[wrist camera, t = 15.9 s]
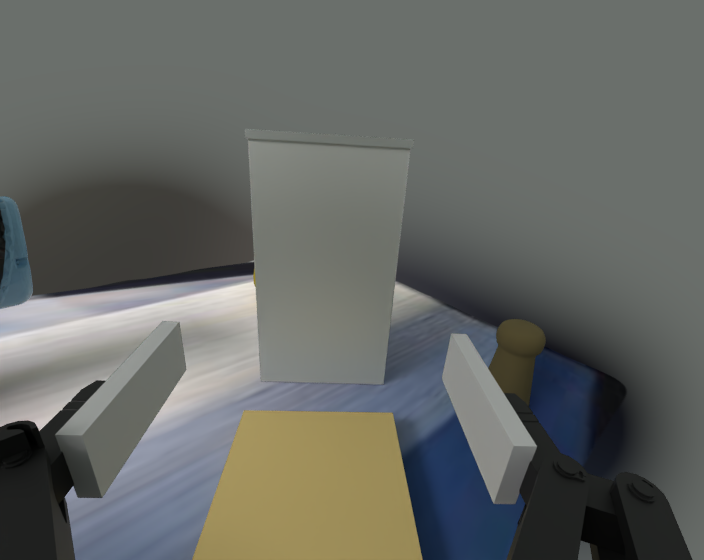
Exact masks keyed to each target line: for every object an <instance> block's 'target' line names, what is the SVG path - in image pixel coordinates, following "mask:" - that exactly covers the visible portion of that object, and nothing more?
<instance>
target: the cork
mask: <svg viewBox="0 0 704 560" xmlns="http://www.w3.org/2000/svg"><path fill="white" fill-rule="evenodd" d="M496 338H497V343H498V348H497V350H496V352H495V354H494V357H493V359H492V361H491V364H490V366H489V368H488V369H489V371H490V372H491V374H492V376H493V377H494V379H495V380H496V382H497V384H498V385H499V387H500V388H501V390H502V391H503V393H515V394H516V395H517V396H519V397H520V398H521V399H522V400H523V401H525V402H526V404H527V405H528V406H529V401H530V394H531V386H532V379H533V371H534V364H535V356H537V355H539V354H540V353H541V352H542V350H543V348H544V345H545V335H544V333H543V331H542V330H541V329H540V328H539V327H538V326H536V325H535V324H533V323H531V322H528V321H525V320H520V319H510V320H506V321H504V322H503V323H501V325H500V326H499V328H498V329H497V333H496Z"/></svg>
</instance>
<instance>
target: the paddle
mask: <svg viewBox="0 0 704 560" xmlns="http://www.w3.org/2000/svg"><path fill="white" fill-rule="evenodd" d="M192 560H423V559H422V554H421V549H420V545H419V540H418V535H417V530H416V525H415V520H414V515H413V510H412V505H411V500H410V496H409V491H408V486H407V481H406V476H405V471H404V466H403V461H402V456H401V451H400V447H399V442H398V437H397V432H396V427H395V422H394V417H393V413H374V412H311V411H247V410H244V412H243V415H242V418H241V420H240V423H239V426H238V429H237V432H236V435H235V438H234V441H233V444H232V446H231V449H230V452H229V455H228V458H227V461H226V464H225V467H224V469H223V472H222V475H221V478H220V481H219V484H218V487H217V490H216V492H215V495H214V498H213V501H212V504H211V507H210V510H209V513H208V516H207V518H206V521H205V524H204V527H203V530H202V533H201V536H200V539H199V541H198V544H197V547H196V550H195V553H194V556H193V559H192Z"/></svg>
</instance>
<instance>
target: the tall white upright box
mask: <svg viewBox="0 0 704 560" xmlns="http://www.w3.org/2000/svg"><path fill="white" fill-rule="evenodd" d="M245 138H248V149H249V168H250V187H251V204H252V225H253V244H254V262H255V281H256V300H257V319H258V338H259V357H260V376H261V382H298V383H337V384H375V385H383V383H384V375H385V366H386V357H387V348H388V340H389V331H390V322H391V314H392V305H393V296H394V287H395V279H396V270H397V261H398V252H399V244H400V234H401V226H402V225H401V224H402V217H403V209H404V200H405V191H406V182H407V174H408V165H409V156H410V148H413V142H414V140H408V139H392V138H377V137H362V136H346V135H329V134H314V133H313V134H312V133H297V132H282V131H266V130H250V129H245Z"/></svg>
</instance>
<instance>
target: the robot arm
mask: <svg viewBox="0 0 704 560" xmlns="http://www.w3.org/2000/svg"><path fill="white" fill-rule="evenodd" d="M32 291H33V287H32V278H31V271H30V266H29V262H28V255H27V248H26V243H25V237H24V232H23V228H22V223H21V218H20V214H19V210H18V207H17V204H16V203H15V201H14V200H12V199H11V198H9V197H0V309H3V308H7V307H11V306H16V305H20V304H22V303H24V302H26V301H27V300H28V299H29V298H30V297H31V295H32ZM185 371H186V364H185V357H184V351H183V344H182V337H181V330H180V324H179V322H169V321H162V322H161V324H160V325H159V326H158V327H157V328H156V329H155V330H154V331H153V332H152V333H151V334H150V335H149V336H148V337H147V338H146V339H145V340H144V341H143V342H142V344H141V345H140V346H139V347H138V348H137V349H136V350H135V351H134V352H133V353H132V354H131V355H130V356H129V357H128V358H127V359H126V360H125V361H124V363H123V364H122V365H121V366H120V367H119V368H118V369H117V370H116V371H115V372H114V373H113V374H112V375H111V376H110V377H109V378H108V379H107V380H106V381H95V382H93V383H92V384H90V385H88V386H87V387H85V388H83V389H82V390H81V391H80V392H79V393H78V394H77V395H76V396H75V397H74V398H73V399H72V400H71V402H69V403H68V404H67V405H66V406H65V407H64V408H63V410H62V411H60V412H59V413H58V414H57V415H56V416H55V417H54V418H53V419H52V420H50V421H49V422H48V423H47V424H46V425H45V426H44V427H43V428H42V429H41V430H40V431H39V430H38V428H37V426H36V424H35V423H34V422H31V421H17V422H13V423H9V424H6V425H4V426H2V427H0V560H75V555H74V548H73V542H72V535H71V528H70V522H69V515H68V508H67V503H66V500H65V496H66V494H67V493H68V492H69V490H70V489H71V488H72V487H73V486H74V488H75V491H76V494H77V497H78V498H103V496H104V495H105V493H106V491H107V490H108V488H109V487H110V485H111V484H112V482H113V481H114V479H115V478H116V476H117V475H118V473H119V472H120V470H121V469H122V467H123V465H124V464H125V462H126V461H127V459H128V458H129V456H130V455H131V453H132V452H133V450H134V449H135V447H136V446H137V444H138V443H139V441H140V440H141V438H142V436H143V435H144V433H145V432H146V430H147V429H148V427H149V426H150V424H151V423H152V421H153V420H154V418H155V417H156V415H157V414H158V412H159V410H160V409H161V407H162V406H163V404H164V403H165V401H166V400H167V398H168V397H169V395H170V394H171V392H172V391H173V389H174V388H175V386H176V384H177V383H178V381H179V380H180V378H181V377H182V375H183V374H184V372H185ZM442 380H443V382H444V385H445V387H446V390H447V392H448V395H449V397H450V399H451V402H452V404H453V407H454V409H455V411H456V414H457V416H458V419H459V421H460V424H461V426H462V428H463V431H464V433H465V436H466V438H467V440H468V443H469V445H470V448H471V450H472V453H473V455H474V457H475V460H476V462H477V465H478V467H479V469H480V472H481V474H482V477H483V479H484V482H485V484H486V486H487V489H488V491H489V494H490V496H491V498H492V501H493V503H494V504H515V503H516V500H517V498H518V495H519V493H520V494H521V496H522V498H523V500H524V502H525V506H524V509H523V511H522V514H521V516H520V519H519V521H518V527H517V530H516V533H515V536H514V539H513V542H512V545H511V548H510V551H509V554H508V557H507V560H578V553H579V547H580V541H584V542H588V543H590V548H591V554H592V560H692V558H691V555H690V553H689V551H688V548H687V545H686V543H685V541H684V538H683V536H682V533H681V531H680V529H679V526H678V524H677V521H676V519H675V517H674V514H673V512H672V509H671V507H670V505H669V502H668V500H667V499H666V497H665V495H664V494H663V493H662V492H661V491H660V490H659V489H658V488H657V487H656V486H655V485H654V484H652V483H651V482H649V481H648V480H646V479H645V478H643V477H640V476H638V475H636V474H632V473H628V472H624V473H620V474H618V475H617V476H616V478H615V480H614V481H611V480H608V479H604V478H601V477H598V476H594V475H591V474H588V473H587V472H586V471H585V469H584V468H583V467H582V466H581V465H580V464H579V463H578V462H577V461H575V460H574V459H572V458H571V457H569V456H566V455H564V454H561V453H560V451H559V450H558V449H557V447H556V446H555V444H554V443H553V441H552V440H551V438H550V437H549V435H548V434H547V433H546V431H545V430H544V428H543V427H542V425H541V424H540V423H539V421H538V420H537V418H536V417H535V415H533V412H532V411H531V409H530V408H529V406H528V405H527V404H526V402H525V401H523V400H522V399H521V398H520V397H519V396H517V395H516V394H515V393H503V391H502V390H501V388H500V387H499V385H498V384H497V382H496V380H495V379H494V377H493V376H492V374H491V372H490V371H489V369H488V368H487V366H486V364H485V363H484V361H483V360H482V358H481V356H480V355H479V353H478V352H477V350H476V349H475V347H474V345H473V344H472V342H471V341H470V339H469V337H468V336H467V334H451V337H450V342H449V347H448V352H447V356H446V361H445V366H444V371H443V375H442Z"/></svg>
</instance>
